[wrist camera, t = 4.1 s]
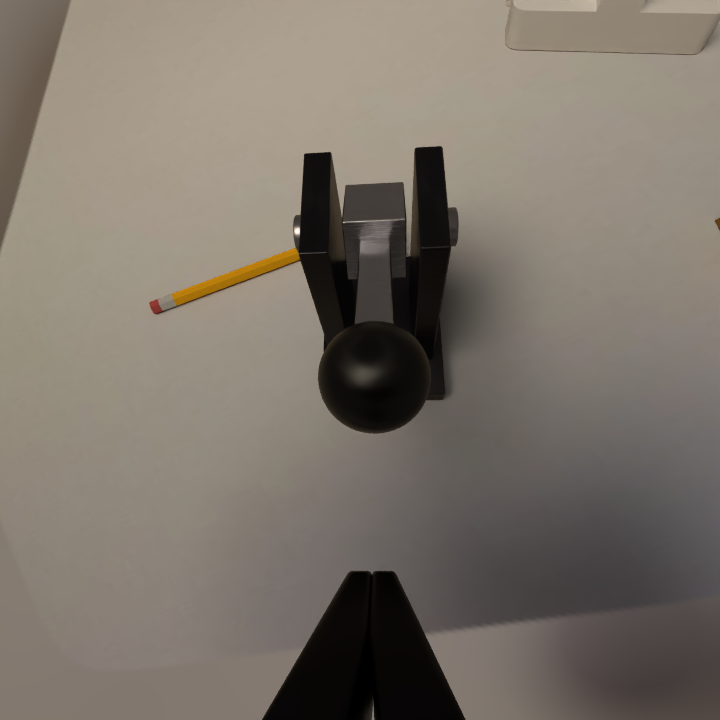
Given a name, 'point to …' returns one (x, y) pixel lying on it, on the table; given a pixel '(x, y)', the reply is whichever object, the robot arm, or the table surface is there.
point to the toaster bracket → (424, 266)
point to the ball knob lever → (374, 321)
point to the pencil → (224, 281)
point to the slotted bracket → (611, 25)
